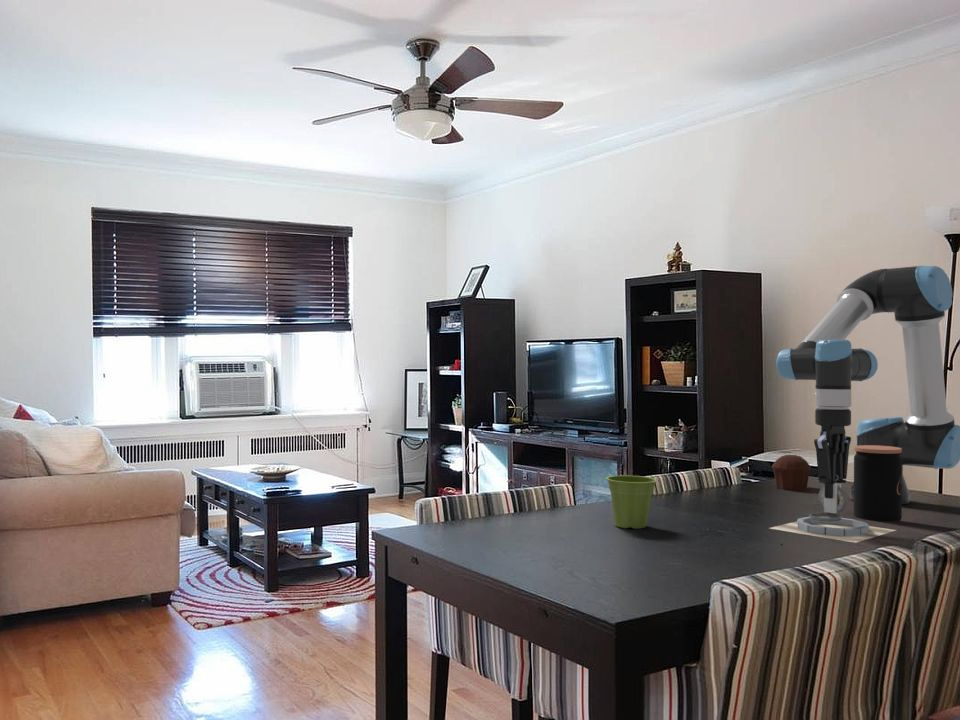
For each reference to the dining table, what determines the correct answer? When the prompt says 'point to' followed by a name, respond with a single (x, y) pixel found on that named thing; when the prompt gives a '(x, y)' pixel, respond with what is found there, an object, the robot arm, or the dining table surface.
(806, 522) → the slate ring
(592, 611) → the dining table surface
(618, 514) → the plant pot
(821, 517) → the pocket watch
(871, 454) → the coffee jar
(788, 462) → the muffin
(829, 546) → the dining table surface
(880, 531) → the ash board
